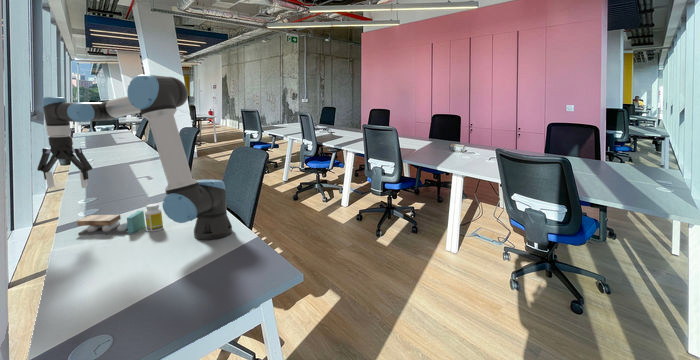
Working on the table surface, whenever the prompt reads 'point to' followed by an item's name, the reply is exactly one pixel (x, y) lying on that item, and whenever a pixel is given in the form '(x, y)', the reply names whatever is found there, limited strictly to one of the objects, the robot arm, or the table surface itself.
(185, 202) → the robot arm
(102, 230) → the roller bed
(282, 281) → the table surface
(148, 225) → the pill bottle
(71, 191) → the table surface
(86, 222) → the slab
